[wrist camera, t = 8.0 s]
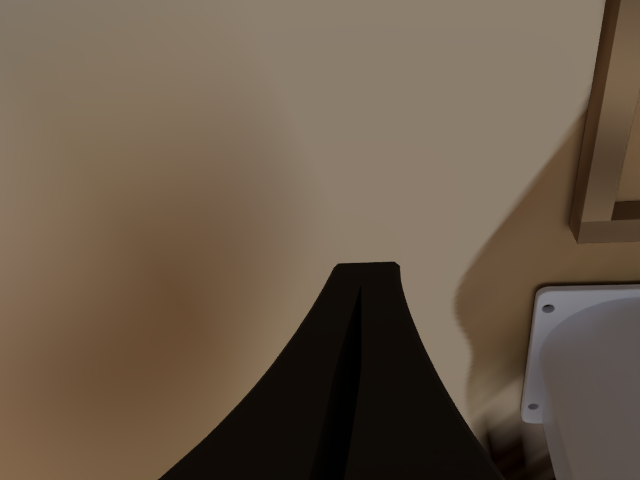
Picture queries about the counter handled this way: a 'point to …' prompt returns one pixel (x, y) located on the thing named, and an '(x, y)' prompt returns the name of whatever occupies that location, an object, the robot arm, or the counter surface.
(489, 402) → the counter surface
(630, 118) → the shallow wooden tray
